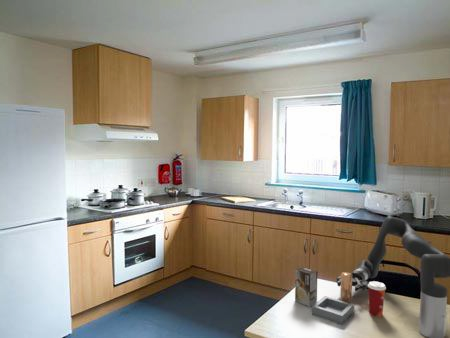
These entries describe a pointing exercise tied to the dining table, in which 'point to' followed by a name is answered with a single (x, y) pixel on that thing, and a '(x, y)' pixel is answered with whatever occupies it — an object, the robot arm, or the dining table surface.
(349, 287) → the copper tin
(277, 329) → the dining table surface
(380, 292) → the paper cup
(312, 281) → the coffee box
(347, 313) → the grey tray
